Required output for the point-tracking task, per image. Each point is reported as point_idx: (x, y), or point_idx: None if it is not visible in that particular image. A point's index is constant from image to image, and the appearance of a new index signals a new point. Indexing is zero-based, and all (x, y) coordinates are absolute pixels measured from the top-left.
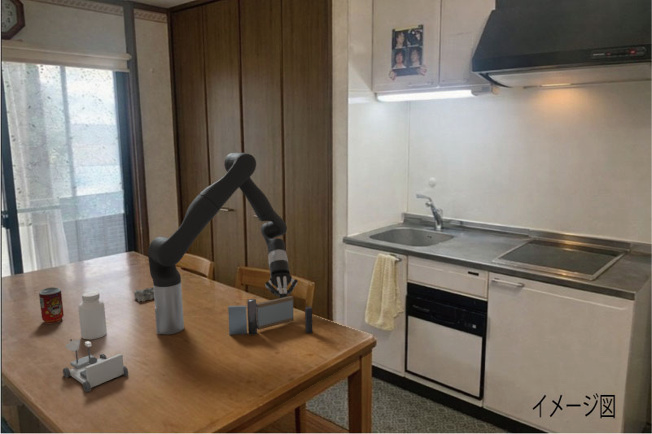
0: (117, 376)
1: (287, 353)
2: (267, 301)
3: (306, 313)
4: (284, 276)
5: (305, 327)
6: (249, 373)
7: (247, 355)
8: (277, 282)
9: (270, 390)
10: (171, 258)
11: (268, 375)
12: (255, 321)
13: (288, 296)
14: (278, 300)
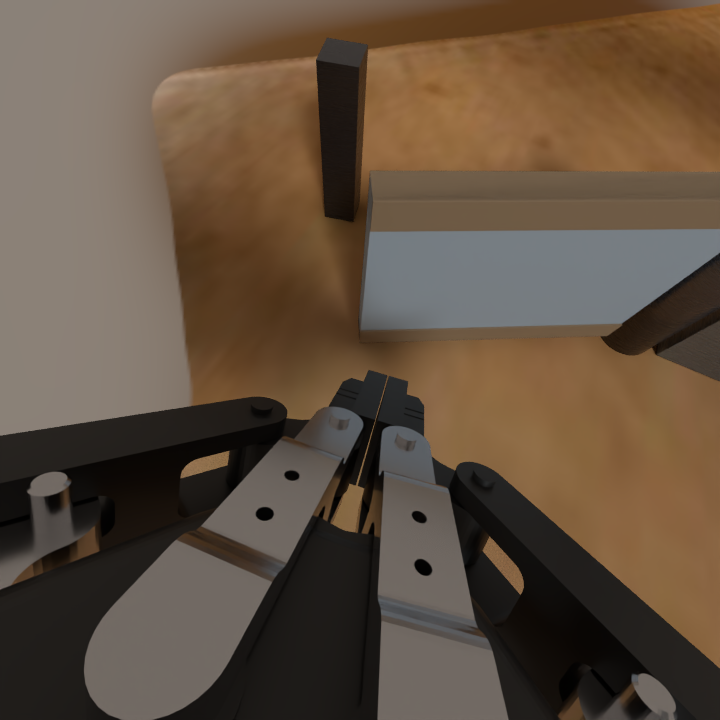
0: None
1: (507, 123)
2: (671, 192)
3: (364, 88)
4: (132, 700)
5: (355, 200)
6: (657, 94)
7: None
8: (468, 589)
9: (605, 28)
10: None
11: (600, 67)
12: None
13: (413, 197)
14: (548, 174)
